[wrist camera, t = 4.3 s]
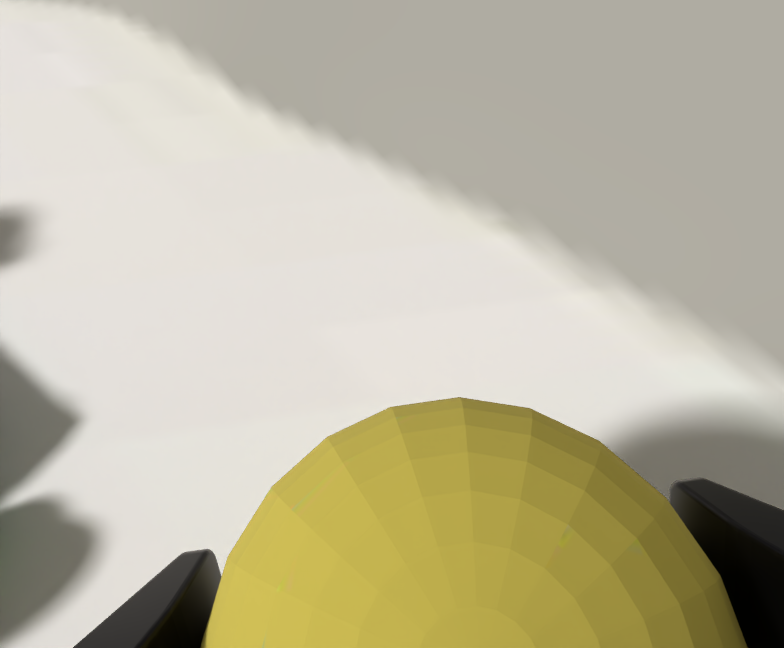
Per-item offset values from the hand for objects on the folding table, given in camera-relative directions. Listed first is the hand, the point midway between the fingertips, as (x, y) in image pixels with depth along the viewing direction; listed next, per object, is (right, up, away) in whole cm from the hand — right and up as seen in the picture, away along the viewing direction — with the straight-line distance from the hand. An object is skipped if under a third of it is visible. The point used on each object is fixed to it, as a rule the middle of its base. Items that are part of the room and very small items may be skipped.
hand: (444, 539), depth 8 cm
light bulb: (+1, -4, +5) cm, 7 cm away
